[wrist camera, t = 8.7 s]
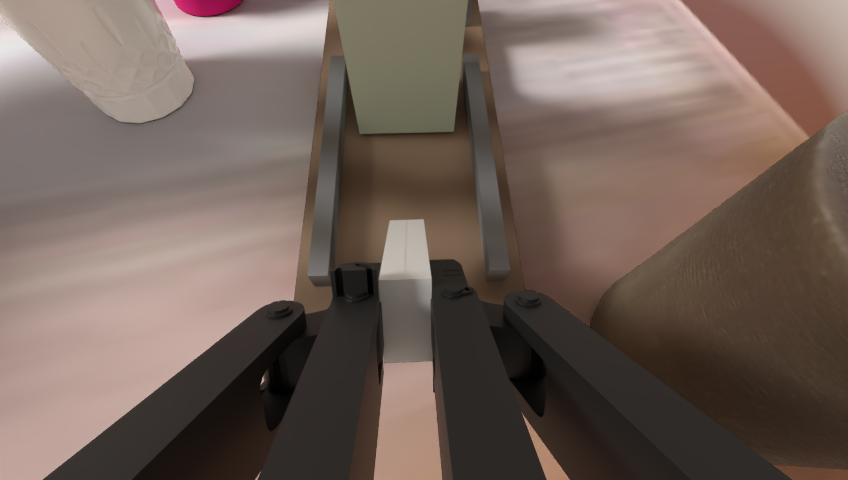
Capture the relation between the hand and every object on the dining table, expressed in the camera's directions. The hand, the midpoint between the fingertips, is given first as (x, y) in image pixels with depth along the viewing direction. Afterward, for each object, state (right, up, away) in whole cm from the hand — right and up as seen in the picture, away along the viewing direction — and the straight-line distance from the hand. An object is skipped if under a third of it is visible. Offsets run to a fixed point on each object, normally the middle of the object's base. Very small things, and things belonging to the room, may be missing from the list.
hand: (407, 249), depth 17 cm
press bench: (-1, +8, +10) cm, 13 cm away
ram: (0, +9, +9) cm, 13 cm away
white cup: (-20, +12, +12) cm, 26 cm away
